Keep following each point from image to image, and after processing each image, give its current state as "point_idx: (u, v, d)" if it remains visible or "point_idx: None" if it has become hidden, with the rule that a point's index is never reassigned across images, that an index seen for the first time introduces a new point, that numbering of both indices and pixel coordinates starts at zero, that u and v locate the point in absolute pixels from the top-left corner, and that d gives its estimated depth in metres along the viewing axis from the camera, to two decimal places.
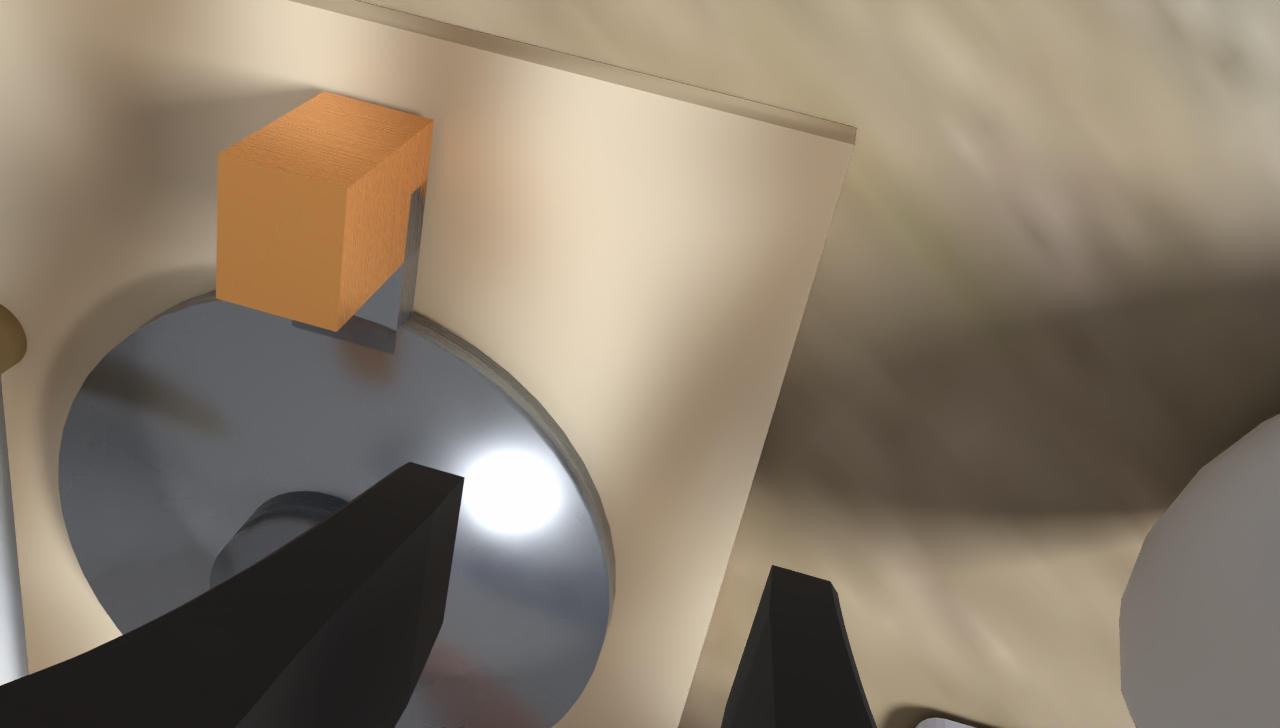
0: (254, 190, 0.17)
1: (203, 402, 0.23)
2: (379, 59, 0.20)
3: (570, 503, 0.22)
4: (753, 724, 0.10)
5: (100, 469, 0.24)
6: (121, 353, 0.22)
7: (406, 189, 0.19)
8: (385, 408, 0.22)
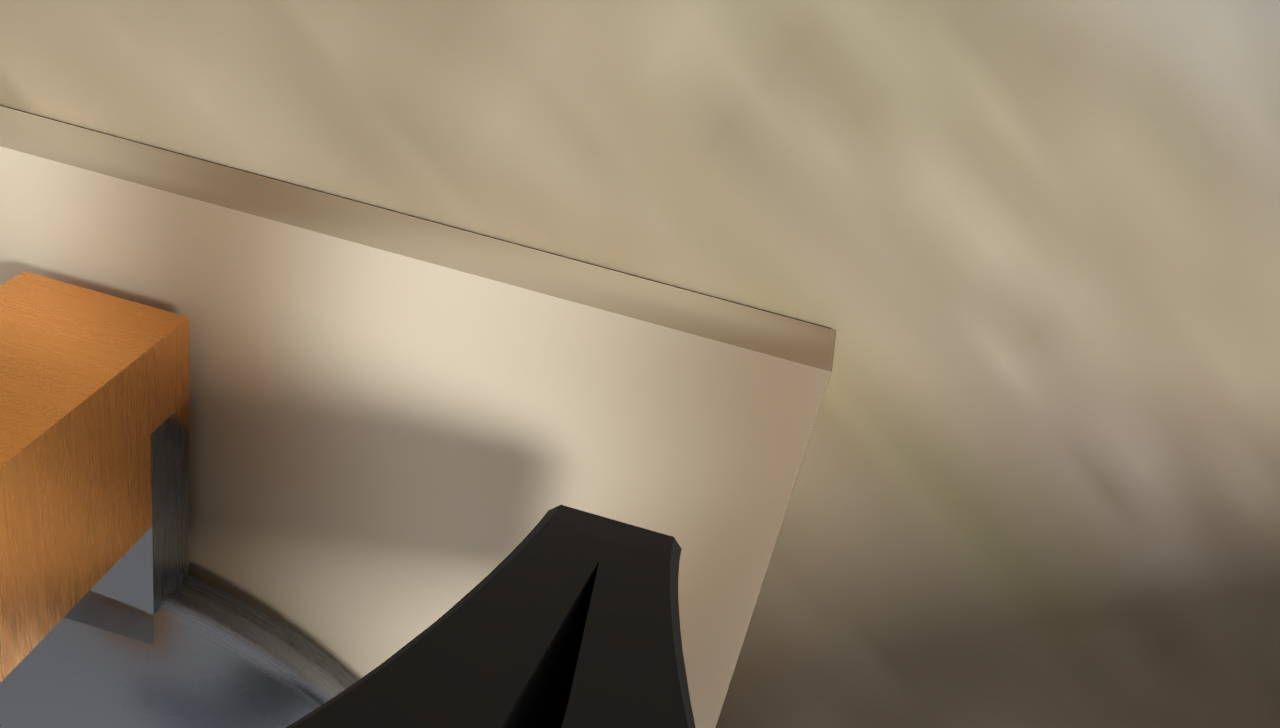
0: None
1: None
2: (105, 224, 0.13)
3: None
4: (574, 671, 0.10)
5: None
6: None
7: (137, 432, 0.12)
8: (150, 712, 0.15)
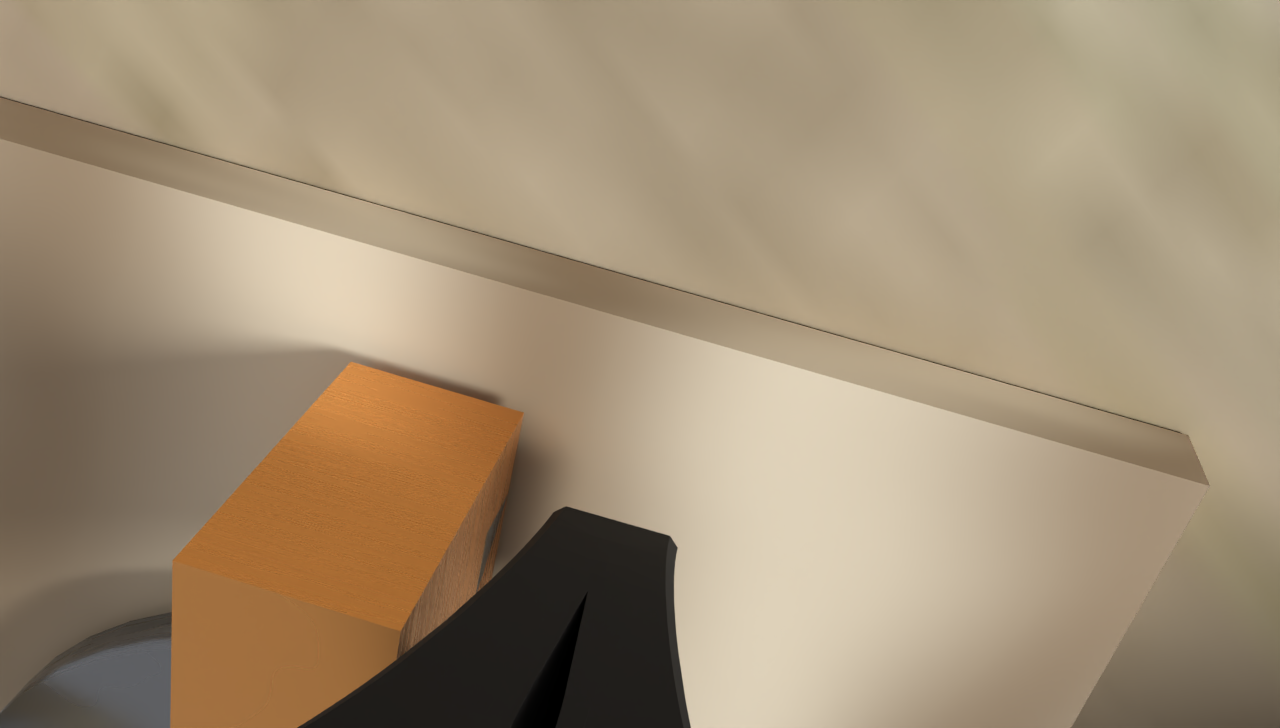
0: (236, 618, 0.10)
1: None
2: (438, 316, 0.13)
3: None
4: None
5: None
6: (39, 699, 0.15)
7: (481, 534, 0.12)
8: None
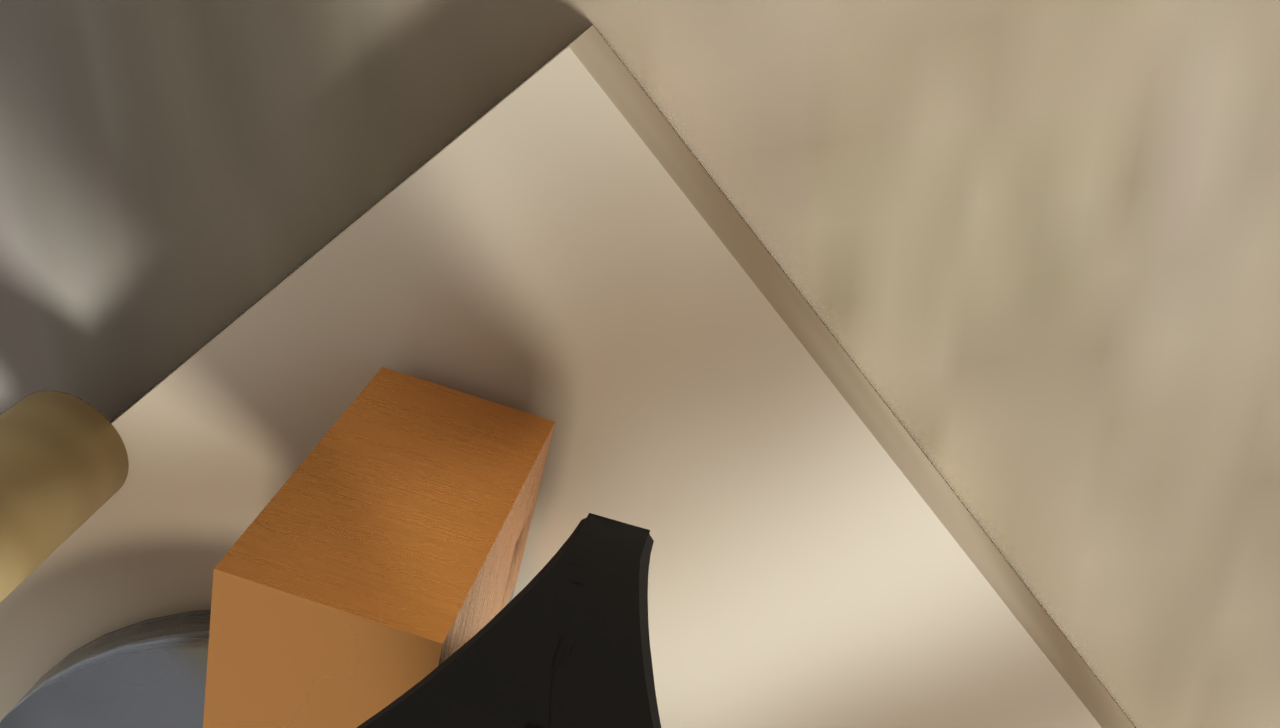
0: (275, 627, 0.10)
1: None
2: (965, 635, 0.13)
3: None
4: None
5: None
6: (54, 697, 0.15)
7: (512, 543, 0.12)
8: None
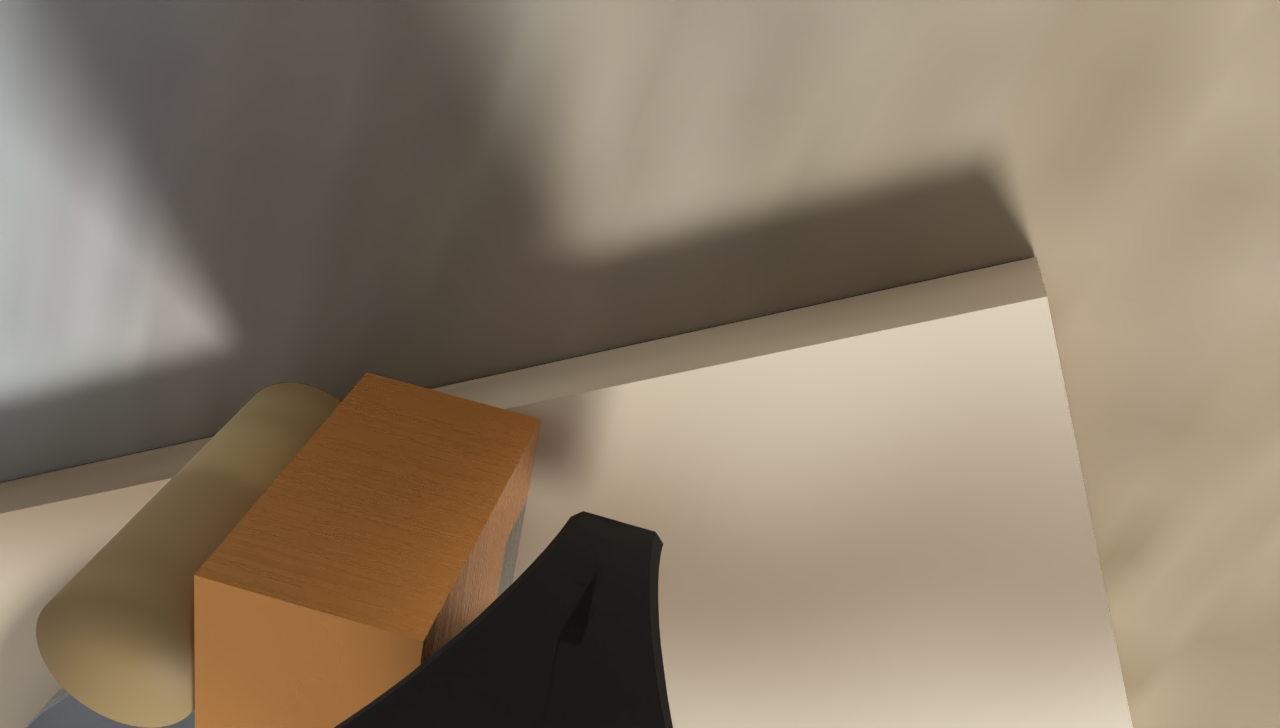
0: (258, 631, 0.10)
1: None
2: None
3: None
4: None
5: None
6: (62, 715, 0.15)
7: (501, 542, 0.12)
8: None
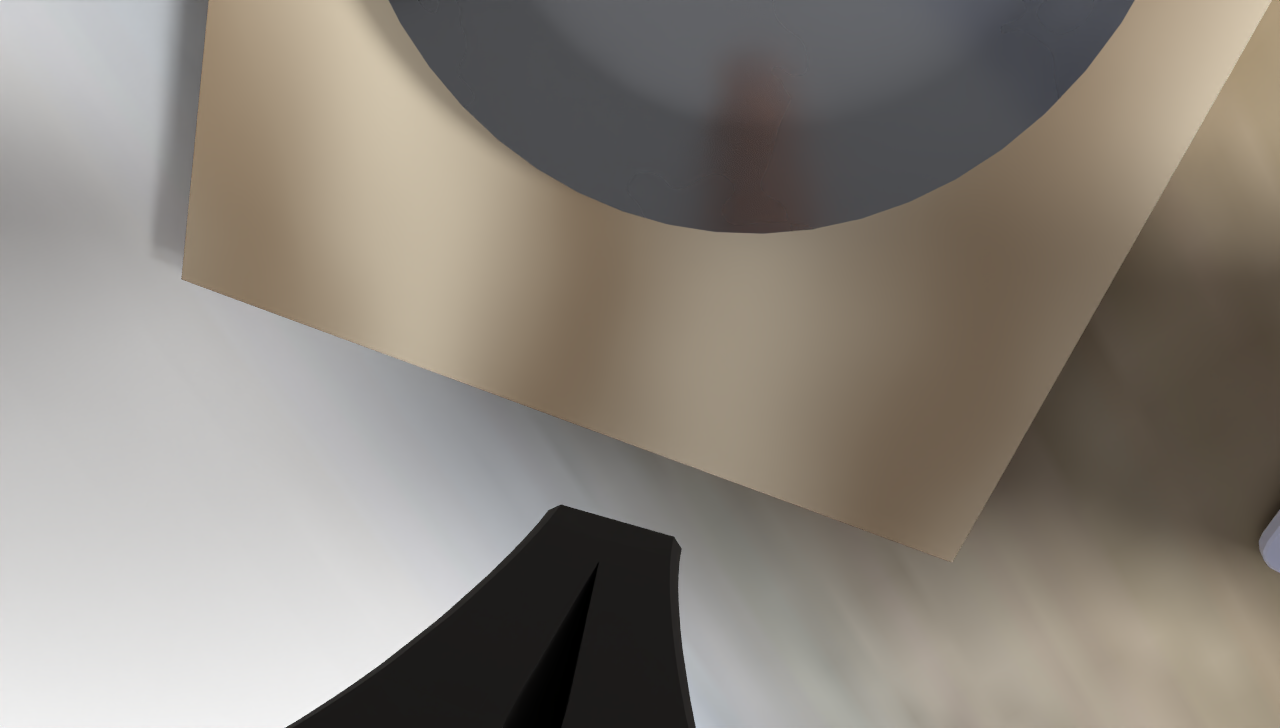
0: None
1: None
2: None
3: None
4: (574, 671, 0.10)
5: (468, 28, 0.18)
6: None
7: None
8: None
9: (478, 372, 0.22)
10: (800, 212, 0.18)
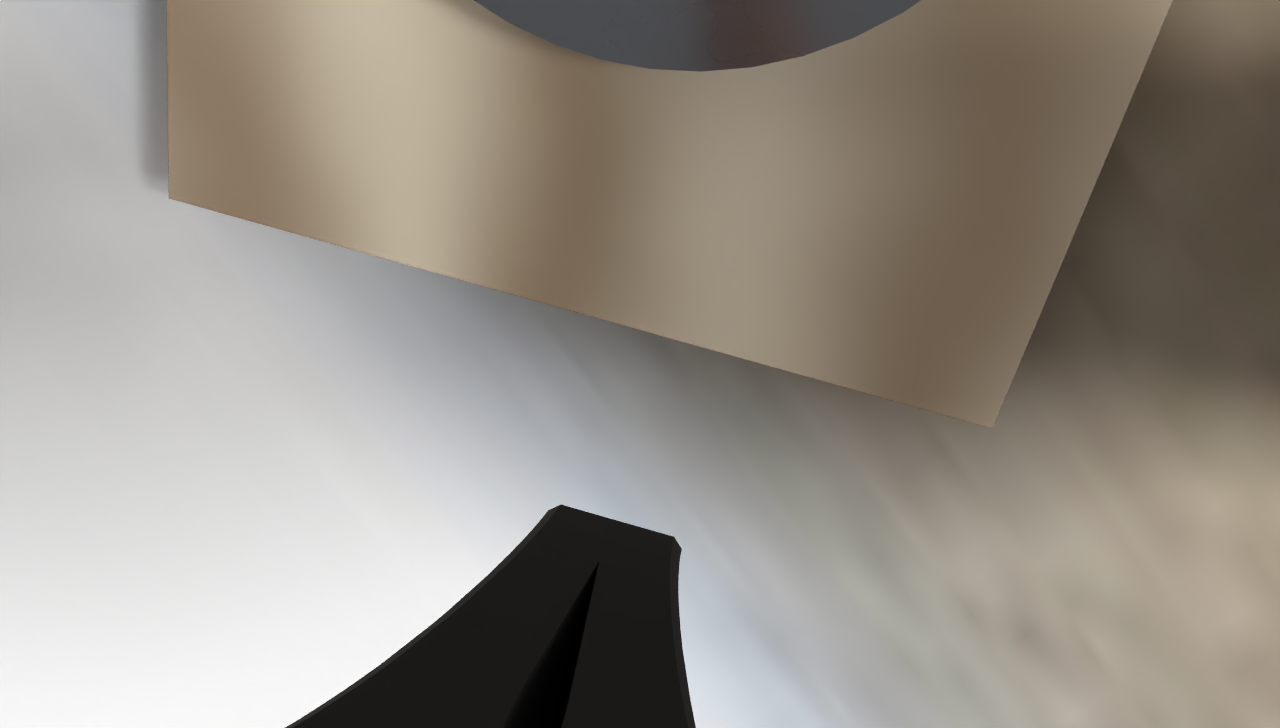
0: None
1: None
2: None
3: None
4: (574, 671, 0.10)
5: None
6: None
7: None
8: None
9: (475, 266, 0.21)
10: (788, 38, 0.17)
